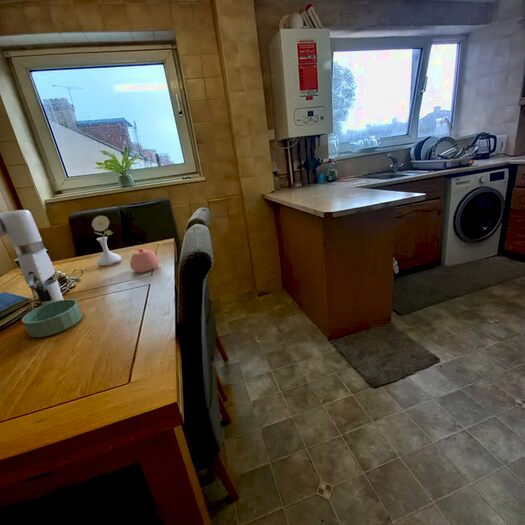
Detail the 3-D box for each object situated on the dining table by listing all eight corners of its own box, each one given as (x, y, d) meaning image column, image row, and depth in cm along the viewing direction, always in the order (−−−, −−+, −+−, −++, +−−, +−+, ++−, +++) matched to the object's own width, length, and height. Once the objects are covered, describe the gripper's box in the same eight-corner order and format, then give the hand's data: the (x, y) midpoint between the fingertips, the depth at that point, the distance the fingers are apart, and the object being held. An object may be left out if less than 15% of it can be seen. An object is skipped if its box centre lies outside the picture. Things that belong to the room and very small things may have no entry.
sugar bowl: (136, 276, 120) (130, 254, 117) (128, 269, 131) (122, 249, 127) (164, 268, 127) (158, 246, 124) (154, 261, 138) (148, 242, 134)
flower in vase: (92, 268, 140) (75, 219, 132) (109, 260, 151) (94, 214, 142) (114, 267, 137) (98, 217, 128) (129, 259, 147) (115, 212, 139)
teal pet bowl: (19, 344, 80) (10, 327, 78) (43, 319, 93) (37, 304, 91) (72, 332, 82) (66, 316, 80) (89, 309, 95) (83, 295, 94)
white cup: (61, 302, 104) (51, 278, 100) (70, 305, 100) (60, 280, 97) (41, 311, 98) (30, 286, 95) (50, 315, 95) (38, 288, 92)
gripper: (31, 243, 99) (50, 289, 105) (0, 258, 83) (25, 310, 89) (54, 240, 100) (72, 285, 106) (29, 253, 84) (51, 305, 90)
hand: (51, 296), depth 98 cm, fingers closed on white cup, 5 cm apart
